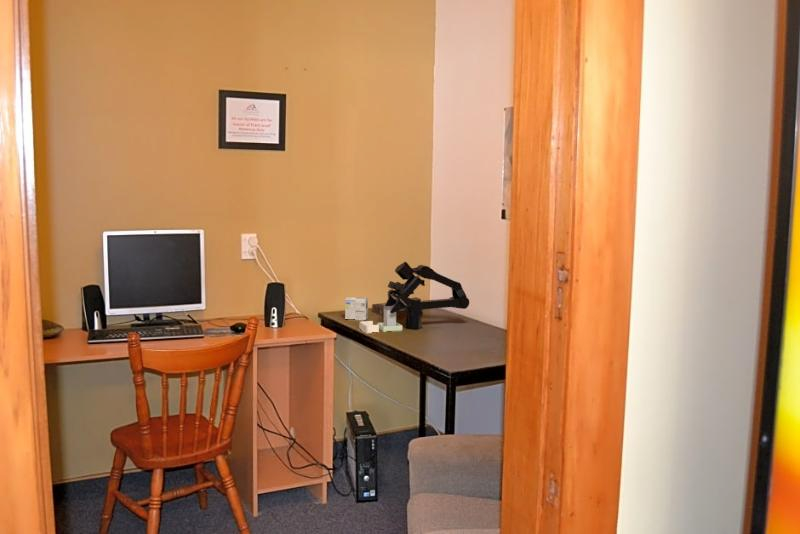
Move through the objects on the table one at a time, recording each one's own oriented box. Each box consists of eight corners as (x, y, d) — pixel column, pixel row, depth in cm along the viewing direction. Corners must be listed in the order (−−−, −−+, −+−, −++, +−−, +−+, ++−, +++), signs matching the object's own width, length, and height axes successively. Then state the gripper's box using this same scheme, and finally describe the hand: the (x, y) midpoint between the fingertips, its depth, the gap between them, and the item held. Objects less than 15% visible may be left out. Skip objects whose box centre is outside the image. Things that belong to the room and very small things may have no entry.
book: (372, 313, 375) (372, 303, 375) (402, 311, 383) (402, 301, 382) (389, 321, 355) (389, 311, 354) (421, 318, 362) (421, 309, 361)
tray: (395, 327, 337) (395, 321, 337) (402, 330, 329) (402, 325, 329) (377, 328, 334) (377, 322, 334) (383, 332, 326) (383, 326, 325)
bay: (372, 328, 334) (372, 320, 333) (378, 332, 325) (378, 324, 324) (359, 328, 332) (359, 321, 331) (365, 333, 322) (365, 325, 322)
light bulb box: (368, 318, 358) (368, 297, 357) (366, 320, 352) (366, 299, 350) (347, 317, 359) (347, 296, 358) (344, 320, 353) (344, 298, 351)
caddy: (392, 326, 335) (392, 305, 333) (395, 329, 330) (396, 307, 329) (383, 327, 333) (383, 306, 332) (387, 329, 328) (387, 308, 327)
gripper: (391, 272, 339) (369, 296, 336) (405, 277, 321) (382, 303, 319) (407, 288, 342) (385, 311, 340) (421, 293, 325) (398, 319, 322)
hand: (387, 311), depth 330 cm, fingers open, 9 cm apart
